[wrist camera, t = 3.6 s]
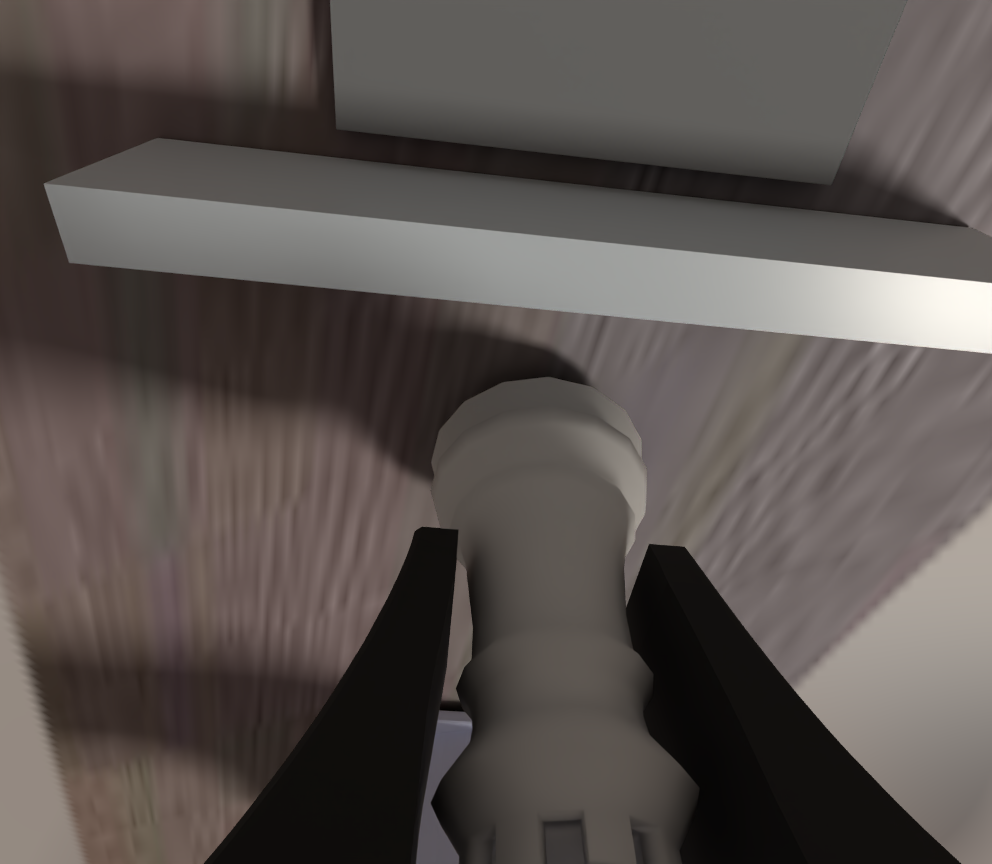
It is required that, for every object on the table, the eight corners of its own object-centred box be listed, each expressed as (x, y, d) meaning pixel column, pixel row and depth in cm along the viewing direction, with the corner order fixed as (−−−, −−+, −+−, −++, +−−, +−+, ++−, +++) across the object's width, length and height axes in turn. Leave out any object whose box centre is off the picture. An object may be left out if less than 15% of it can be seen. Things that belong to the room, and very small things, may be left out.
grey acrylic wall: (941, 282, 11) (1066, 360, 9) (170, 201, 10) (69, 262, 8) (972, 228, 11) (1115, 295, 8) (157, 137, 10) (43, 183, 7)
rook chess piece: (399, 399, 12) (288, 853, 6) (614, 335, 11) (768, 786, 5) (474, 544, 15) (456, 973, 8) (655, 500, 14) (793, 943, 7)
